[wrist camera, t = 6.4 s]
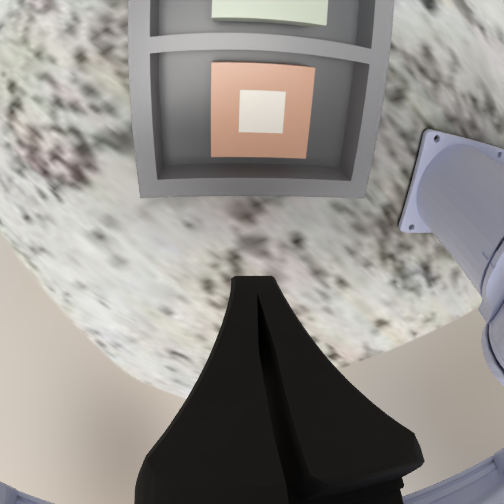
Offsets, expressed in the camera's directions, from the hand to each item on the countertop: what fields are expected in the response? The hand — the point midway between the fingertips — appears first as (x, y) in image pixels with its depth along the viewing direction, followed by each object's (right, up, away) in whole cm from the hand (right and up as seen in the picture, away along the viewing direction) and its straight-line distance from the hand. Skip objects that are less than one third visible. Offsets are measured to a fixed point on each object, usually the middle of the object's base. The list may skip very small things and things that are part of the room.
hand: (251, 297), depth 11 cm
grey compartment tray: (0, +15, +1) cm, 15 cm away
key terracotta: (0, +9, +4) cm, 10 cm away
